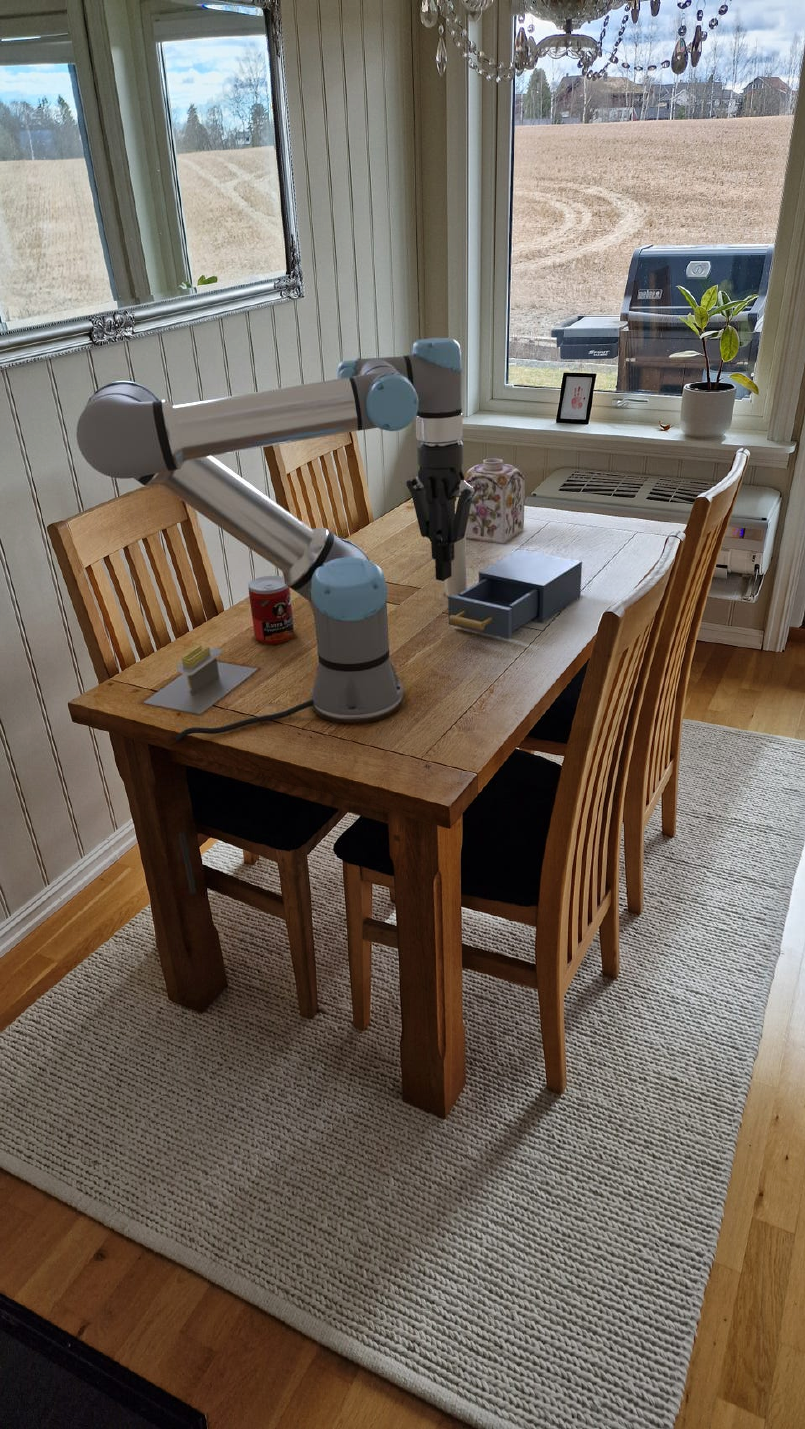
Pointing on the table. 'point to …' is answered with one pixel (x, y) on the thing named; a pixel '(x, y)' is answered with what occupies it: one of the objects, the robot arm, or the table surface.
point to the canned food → (271, 609)
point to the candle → (457, 570)
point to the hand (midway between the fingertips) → (443, 577)
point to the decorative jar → (495, 501)
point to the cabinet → (540, 578)
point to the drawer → (494, 607)
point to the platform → (200, 682)
